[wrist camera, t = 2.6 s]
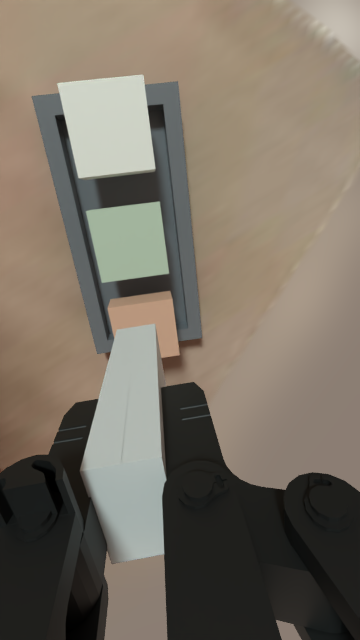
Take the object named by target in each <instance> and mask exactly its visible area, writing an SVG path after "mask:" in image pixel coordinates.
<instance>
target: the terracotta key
mask: <svg viewBox="0 0 360 640" xmlns="http://www.w3.org/2000/svg"><path fill="white" fill-rule="evenodd" d="M108 313H109V317H110V322H111V326H112V331H113V335H114V339H115V335H116V331H117V329H124V328H130V327H137V326H143V325H149V324H155V325H156V330H157V336H158V342H159V348H160V353H161V358H164V357H171V356H177V355H180V353H179V345H178V338H177V330H176V322H175V315H174V307H173V299H172V296H171V292H170V291H164V292H157V293H150V294H143V295H136V296H129V297H122V298H115V299H110V302H109V305H108Z"/></svg>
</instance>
